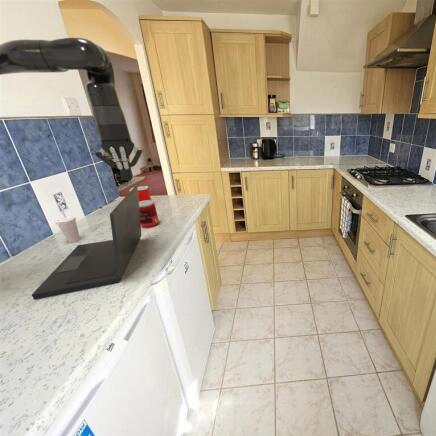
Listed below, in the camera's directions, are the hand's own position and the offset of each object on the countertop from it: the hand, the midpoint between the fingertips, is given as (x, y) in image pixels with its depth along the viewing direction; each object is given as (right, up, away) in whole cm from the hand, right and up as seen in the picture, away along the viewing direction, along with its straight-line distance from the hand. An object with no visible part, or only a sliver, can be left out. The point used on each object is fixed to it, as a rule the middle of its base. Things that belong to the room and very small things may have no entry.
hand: (128, 180), depth 78 cm
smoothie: (-39, -22, +24) cm, 50 cm away
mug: (-31, -6, +58) cm, 66 cm away
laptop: (-15, -28, +6) cm, 33 cm away
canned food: (-14, -16, +36) cm, 42 cm away
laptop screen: (-4, -15, +5) cm, 17 cm away
